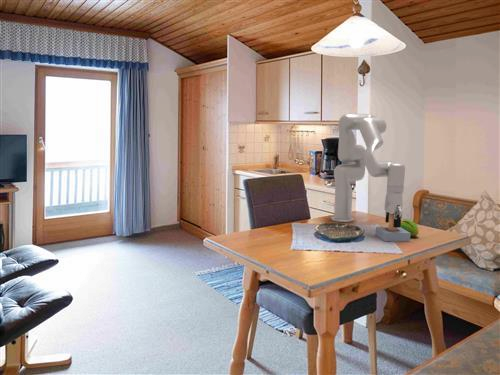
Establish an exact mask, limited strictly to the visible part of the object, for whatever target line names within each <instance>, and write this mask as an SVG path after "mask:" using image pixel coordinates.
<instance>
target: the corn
mask: <svg viewBox="0 0 500 375" xmlns="http://www.w3.org/2000/svg"><path fill="white" fill-rule="evenodd" d="M401 218H402V219H401V228H403V229H404V230H406V231H408V232H410V233H411V234H410V237H416V236H418V235H419V232H420V230H419V227H418V225H417V223H415V222H413V221H412V220H410V219H407V218H403V217H401Z"/></svg>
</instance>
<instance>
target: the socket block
mask: <svg viewBox="0 0 500 375" xmlns="http://www.w3.org/2000/svg"><path fill="white" fill-rule="evenodd" d="M410 234H411V233H410V232H408V231H406V230H404V229H403V228H401V227H400V228H397V232H389V231H388V226H376V227H375V236H376V235H377V236H376V237H378V238H379V239H380V238H381V240H382V241H383V240H384V241H383V242H385V241H391V242H395V243H396V242H397V243H398V242H411V236H410Z"/></svg>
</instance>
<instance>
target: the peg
mask: <svg viewBox="0 0 500 375" xmlns="http://www.w3.org/2000/svg"><path fill="white" fill-rule="evenodd" d="M396 216H397V215H396ZM394 219H395V217H394V213H393V214H390V213H389V222H388V224H387V225H388V226H387V227H388V231H389V232H397V228H394V227H393V225H394Z"/></svg>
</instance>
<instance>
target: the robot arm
mask: <svg viewBox="0 0 500 375" xmlns="http://www.w3.org/2000/svg"><path fill="white" fill-rule="evenodd" d="M337 122H338V123H337V124H338V125H337V129H338V146H337V147H338V148H337V158H338V160H339V161H340V162H342V163H343V162H344V163H343V164H338V165H336V167H334V169H333V177H334V189H335V190H334V206H333V207H334V210H333V211H334V212H333V213H334V214H333V216H331V217H330V220H332V221H334V222H338V223H351V222H354V221H355V218H354V217H353V216H352V208H353V207H352V206H353V187H352V185H351V183H350V182H358V181H361V180H363V178H365V174H366V170H367V172H368V174H369V176H371V177H374V178H383V177H384V178H385V177H387V179H386V180H387V181H386V195H385V201H384V211H385V220H384V221H385V223H388V224H389V213H390V214H393V213H394V217H395V219H394V225H393V227H394V228H400V227H401V221H402V220H403V219H402V218H403V214H404V213H403V212H404V211H403V194H404V190H405V189H404V188H405V176H406V175H405V173H406V166H405V164H404V163H401V162H395V161H392V160H391V161H390V160H389V161H388V160H385V161H384V160H383V161H382V160H380V161H379V160H378V161H377V160H376V157H375V155H374V151H376V150H378V149H380V148H381V147H382V146H383V144H384V139H383V137H382V134H384V133H385V132H386V129H387V123H386V120H385V119H384V118H383V117H381V116H377V115H373V114H369V113H347V114H346V113H345V114H343V115H342V116H340V118H339V119H338V121H337ZM353 130H355V131H356V130H357V131H359V132H360V134H361V137H362V139H363V142H364V143H365V147H366V149H365V147H364V146H363V145H362V144H355V140H356V136H355V134H354V131H353ZM396 215H397V216H396Z"/></svg>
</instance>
